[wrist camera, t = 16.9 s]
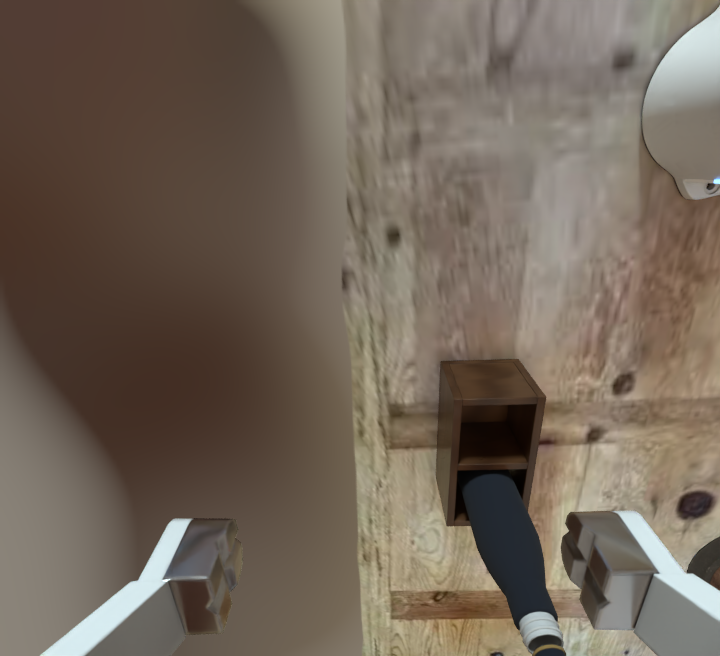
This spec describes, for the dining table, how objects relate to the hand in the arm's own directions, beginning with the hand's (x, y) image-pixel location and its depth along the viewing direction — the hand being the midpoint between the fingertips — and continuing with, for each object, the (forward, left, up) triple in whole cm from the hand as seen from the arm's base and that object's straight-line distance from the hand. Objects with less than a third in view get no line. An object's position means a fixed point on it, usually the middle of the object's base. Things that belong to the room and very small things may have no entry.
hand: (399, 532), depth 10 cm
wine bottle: (-13, +30, -38) cm, 50 cm away
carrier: (-13, +25, -39) cm, 48 cm away
